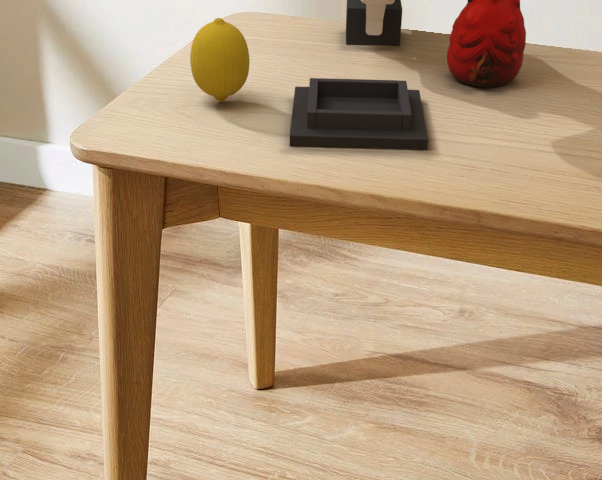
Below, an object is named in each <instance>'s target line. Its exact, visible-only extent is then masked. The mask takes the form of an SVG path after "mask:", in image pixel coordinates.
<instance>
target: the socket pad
mask: <svg viewBox="0 0 602 480" xmlns="http://www.w3.org/2000/svg"><path fill="white" fill-rule="evenodd" d="M420 92H421V91H420V89H409V88H408V82H407V80H399V79H396V80H395V79H363V78H362V79H361V78H360V79H359V78H327V77H326V78H325V77H323V78H322V77H319V78H318V77H310V78H309V85H308V86H295V87H294V92H293V93H294V94H293V102H292V103H293V104H292V112H291V118H290V119H291V120H290V129H289V146H290V147H317V148H319V147H320V148H321V147H322V148H351V149H353V148H354V149H357V148H358V149H385V150H386V149H390V150H423V151H424V150H425V151H427V150H428V148H429V135H428V131H427V130H428V129H427V125H426V119H425V113H424V108H423V103H422V98H421V93H420Z"/></svg>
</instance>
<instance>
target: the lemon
mask: <svg viewBox="0 0 602 480" xmlns="http://www.w3.org/2000/svg"><path fill="white" fill-rule="evenodd" d="M190 48H191V49H190V55H189V56H190V57H189V62H190V71H191V75H192V78H193V80H194V83H195V84H196V86H198V88H199V89H200V90H201V91H202V92H203V93H205V94H206V95H208V96H211V97H213V98H214V99H215V100H216V101H217V102H219V103H223V102H225V101H226V100H227V99H228V98H229V97H230V96H232V95H235V94H236V93H238V92H239V91H240V90H241V89H242V88H243V86H244V85H245V84H246V82H247V79H248V76H249V71H250V52H249V46H248V44H247V40H246V38H245V36H244V34H243V33H242V32H241V31H240V29H239V28H238V27H237V26H236V25H233V24H232V23H230V22H228V21H225V20H224V19H223V18H221V17H216V18H214V20H213V21H211V22H207V23H206V24H205V25H203V26H201V28H200V29H198V31H197V32H196V33H195V36H194V38H193V40H192V43H191V47H190Z"/></svg>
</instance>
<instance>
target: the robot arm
mask: <svg viewBox="0 0 602 480" xmlns="http://www.w3.org/2000/svg"><path fill="white" fill-rule="evenodd" d="M394 1H395V0H361V2H362V3H364V4H366V33H367V34H368V35H380V34H381V33H382V29H383V18H384V13H385V8H386V4H393V3H394Z"/></svg>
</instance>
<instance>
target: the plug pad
mask: <svg viewBox="0 0 602 480" xmlns="http://www.w3.org/2000/svg"><path fill="white" fill-rule="evenodd" d="M402 21H403V5H402V0H395V1H394V3H393V4H386V8H385V13H384V18H383V29H382V33H381V34H380V35H368V34H367V33H366V4H364V3H362V2H361V0H346V14H345V44H346V45H366V46H373V45H374V46H400V45H401V36H402V35H401V34H402Z"/></svg>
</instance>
